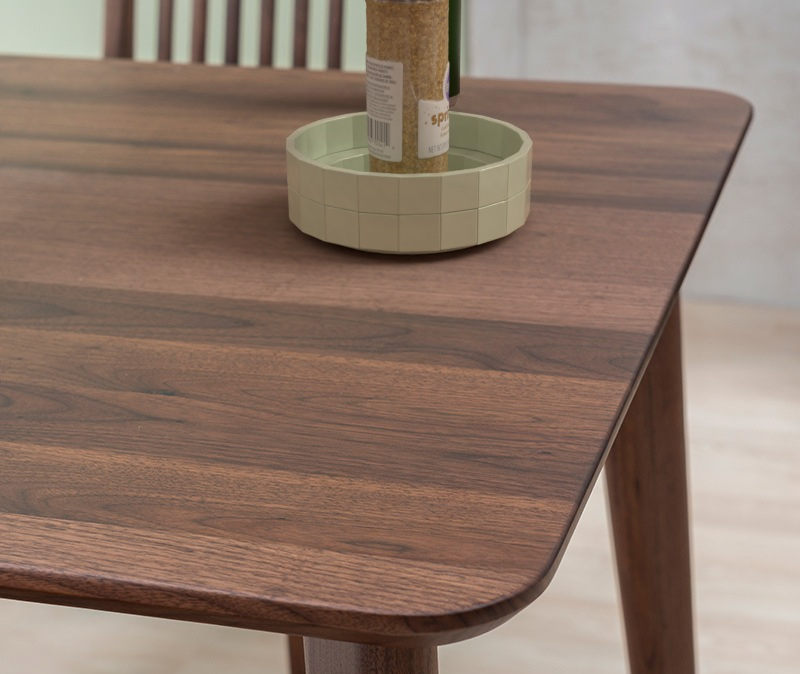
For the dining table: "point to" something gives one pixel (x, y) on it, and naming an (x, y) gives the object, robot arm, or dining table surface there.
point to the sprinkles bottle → (407, 86)
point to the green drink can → (454, 49)
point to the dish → (409, 187)
